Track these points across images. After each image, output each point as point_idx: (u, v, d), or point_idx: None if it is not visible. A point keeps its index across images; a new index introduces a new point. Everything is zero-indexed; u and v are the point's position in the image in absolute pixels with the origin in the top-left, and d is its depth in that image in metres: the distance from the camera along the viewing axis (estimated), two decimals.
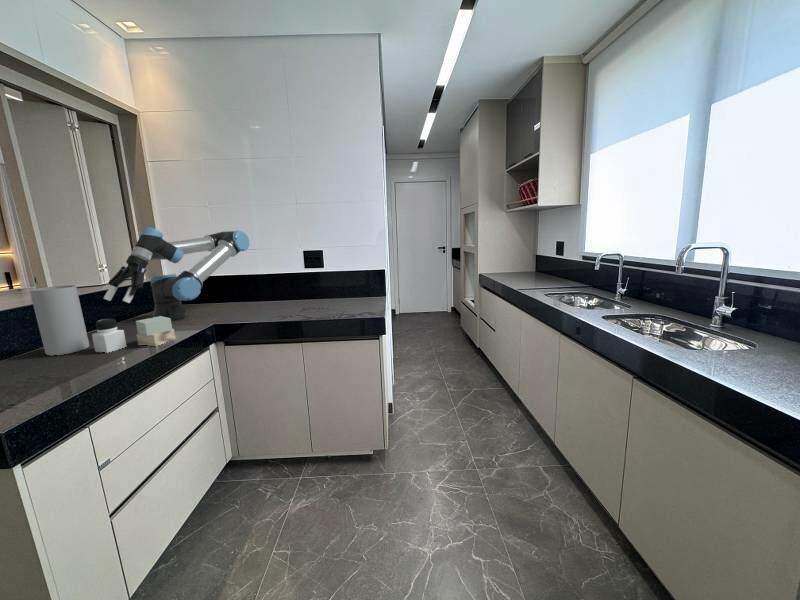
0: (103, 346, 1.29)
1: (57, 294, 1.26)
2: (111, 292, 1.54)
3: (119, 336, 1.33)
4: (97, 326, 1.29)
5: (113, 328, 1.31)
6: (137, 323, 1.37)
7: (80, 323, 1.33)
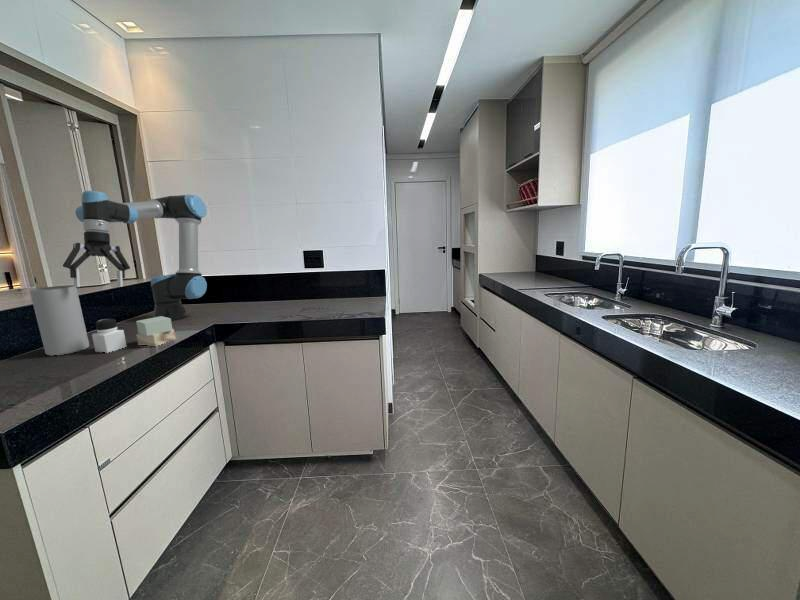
0: (103, 346, 1.29)
1: (57, 294, 1.26)
2: None
3: (119, 336, 1.33)
4: (97, 326, 1.29)
5: (113, 328, 1.31)
6: (137, 323, 1.37)
7: (80, 323, 1.33)
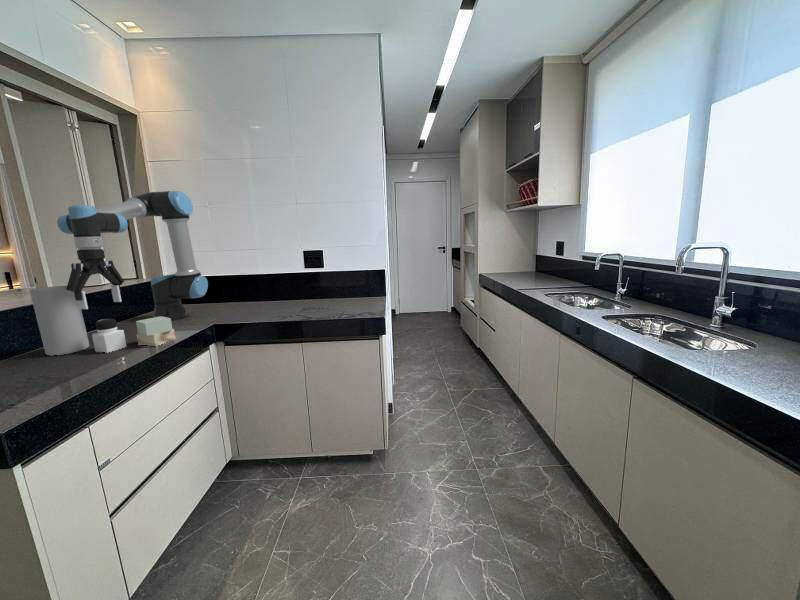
0: (103, 346, 1.29)
1: (57, 294, 1.26)
2: None
3: (119, 336, 1.33)
4: (97, 326, 1.29)
5: (113, 328, 1.31)
6: (137, 323, 1.36)
7: (80, 323, 1.33)
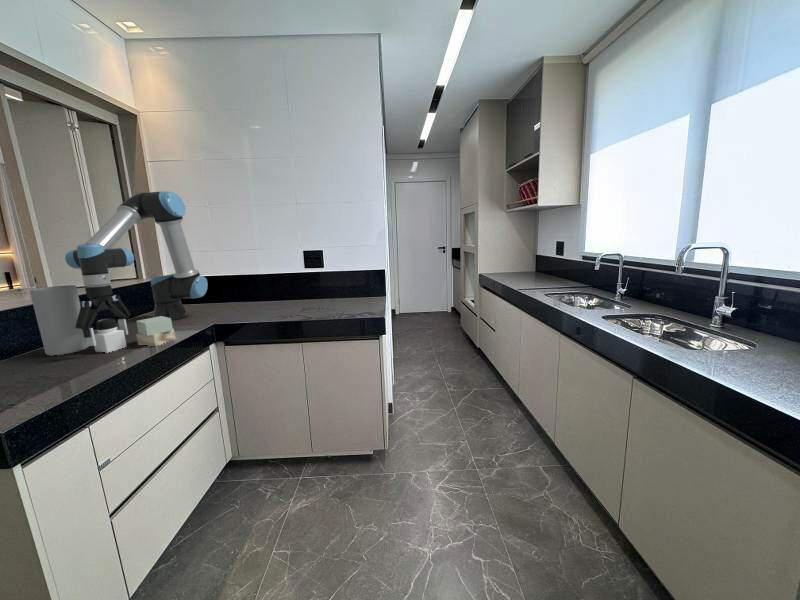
0: (103, 346, 1.29)
1: (57, 294, 1.26)
2: None
3: (119, 336, 1.33)
4: (97, 326, 1.29)
5: (113, 328, 1.31)
6: (138, 323, 1.37)
7: None
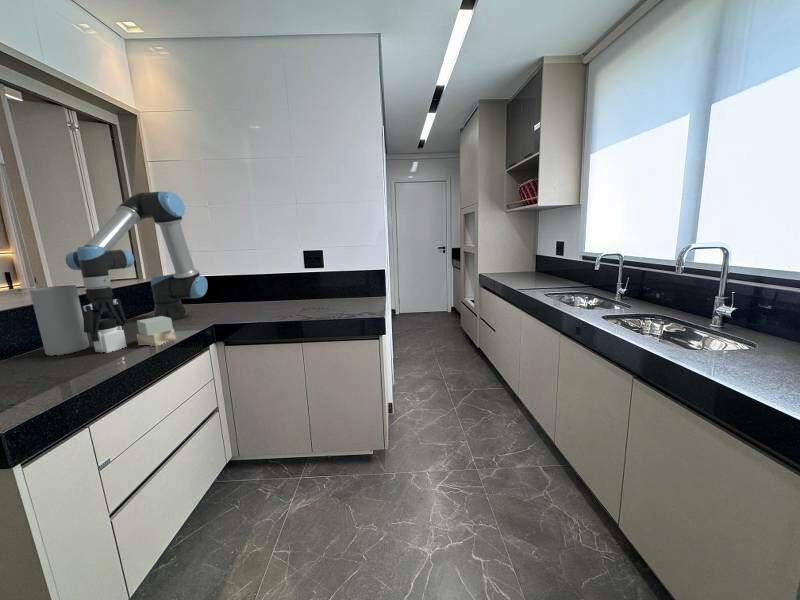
0: None
1: (57, 294, 1.26)
2: None
3: (119, 335, 1.33)
4: None
5: (113, 328, 1.31)
6: (138, 323, 1.37)
7: (80, 323, 1.33)
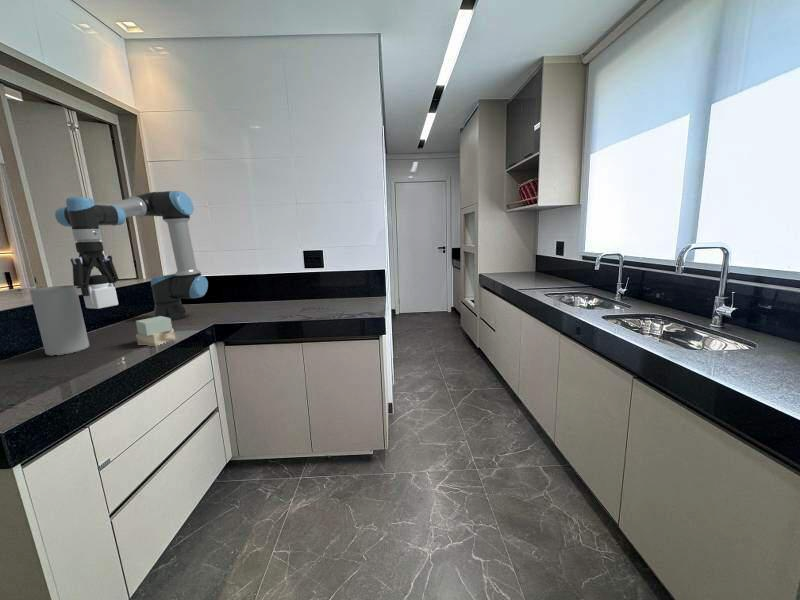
0: None
1: (57, 294, 1.26)
2: None
3: (110, 292, 1.30)
4: None
5: (104, 284, 1.28)
6: (137, 323, 1.37)
7: (80, 323, 1.33)
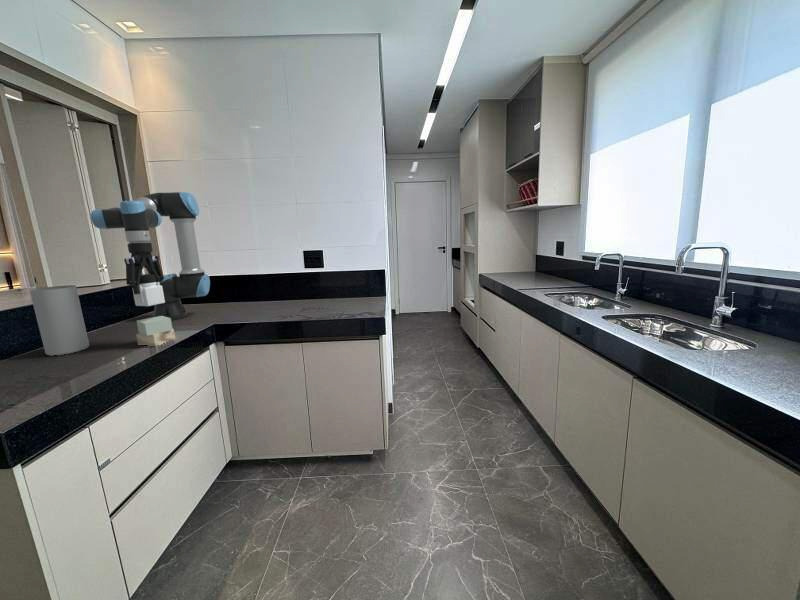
0: None
1: (57, 294, 1.26)
2: None
3: (158, 290, 1.37)
4: None
5: (153, 282, 1.35)
6: (138, 323, 1.37)
7: (80, 323, 1.33)
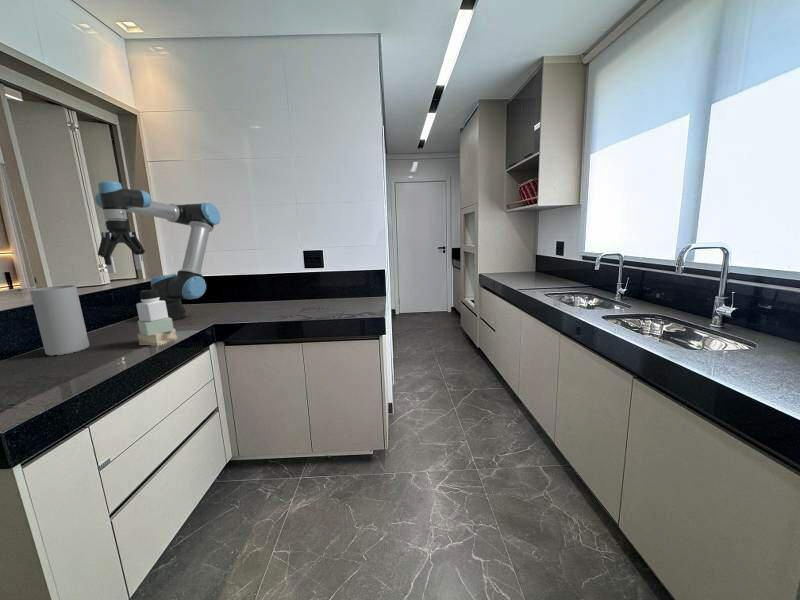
0: (146, 315, 1.34)
1: (57, 294, 1.26)
2: None
3: (161, 306, 1.38)
4: (141, 295, 1.34)
5: (156, 298, 1.36)
6: (139, 323, 1.37)
7: (80, 323, 1.33)
